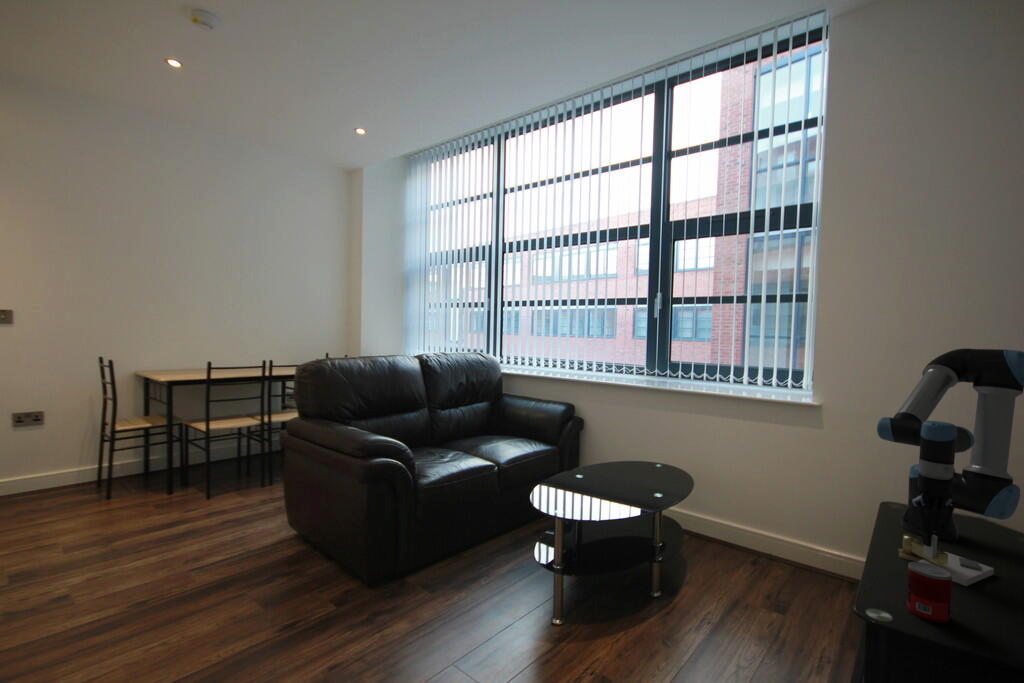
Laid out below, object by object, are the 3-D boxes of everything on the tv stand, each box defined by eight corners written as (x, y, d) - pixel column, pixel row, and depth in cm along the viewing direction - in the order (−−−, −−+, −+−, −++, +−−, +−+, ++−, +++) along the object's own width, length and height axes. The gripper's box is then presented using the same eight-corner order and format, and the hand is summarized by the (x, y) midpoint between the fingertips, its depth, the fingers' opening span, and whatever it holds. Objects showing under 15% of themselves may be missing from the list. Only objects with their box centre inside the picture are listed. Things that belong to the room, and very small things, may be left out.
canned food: (958, 625, 110) (960, 579, 110) (918, 620, 112) (920, 574, 112) (936, 607, 118) (938, 563, 118) (899, 602, 119) (901, 559, 119)
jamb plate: (898, 551, 148) (898, 548, 148) (919, 556, 146) (919, 553, 146) (900, 557, 144) (900, 554, 144) (921, 562, 141) (922, 559, 141)
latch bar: (899, 550, 147) (900, 534, 146) (910, 550, 147) (910, 534, 147) (936, 569, 135) (937, 552, 135) (948, 569, 135) (949, 552, 135)
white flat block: (944, 557, 145) (945, 549, 145) (993, 574, 135) (993, 565, 135) (917, 567, 138) (917, 558, 138) (966, 586, 128) (966, 576, 128)
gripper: (927, 479, 132) (921, 563, 132) (969, 480, 133) (963, 563, 134) (902, 471, 139) (897, 550, 140) (942, 472, 140) (937, 550, 141)
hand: (929, 556), depth 137 cm, fingers closed
